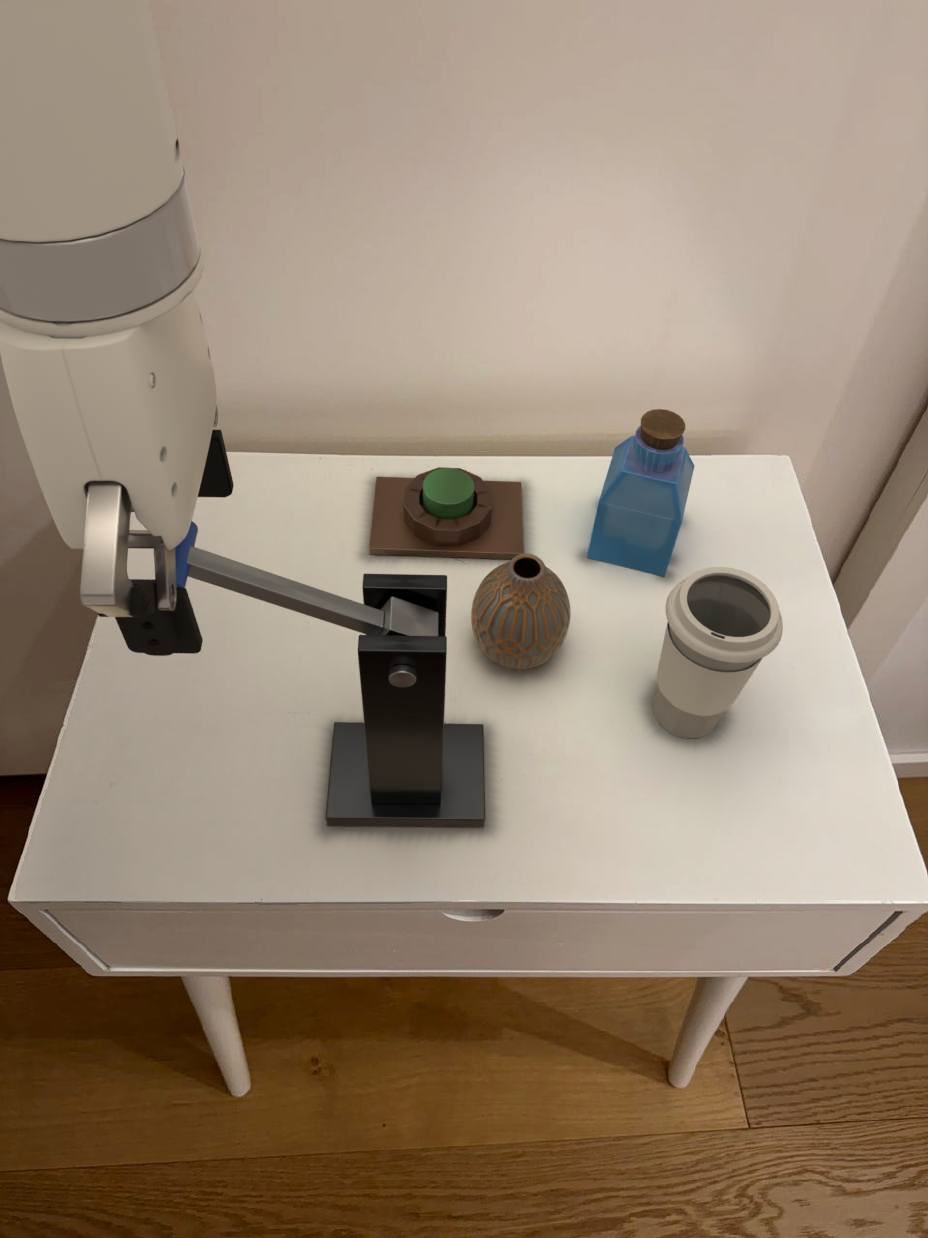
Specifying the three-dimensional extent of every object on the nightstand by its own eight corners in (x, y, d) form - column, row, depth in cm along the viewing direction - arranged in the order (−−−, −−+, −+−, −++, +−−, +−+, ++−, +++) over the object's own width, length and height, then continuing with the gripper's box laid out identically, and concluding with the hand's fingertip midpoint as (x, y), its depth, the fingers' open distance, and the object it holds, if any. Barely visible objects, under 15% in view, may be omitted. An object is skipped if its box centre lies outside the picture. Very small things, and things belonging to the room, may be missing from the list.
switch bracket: (326, 826, 60) (298, 666, 46) (335, 730, 65) (311, 557, 50) (484, 828, 61) (503, 669, 47) (482, 732, 65) (499, 561, 51)
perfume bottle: (586, 557, 75) (610, 442, 65) (602, 503, 79) (627, 387, 69) (664, 576, 74) (700, 462, 64) (677, 521, 78) (713, 405, 68)
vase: (484, 693, 67) (491, 617, 60) (458, 617, 71) (462, 537, 64) (577, 673, 68) (594, 596, 61) (546, 600, 72) (559, 520, 65)
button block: (369, 554, 74) (367, 532, 72) (376, 482, 79) (375, 459, 77) (522, 560, 75) (525, 538, 73) (520, 487, 79) (523, 465, 77)
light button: (421, 519, 74) (421, 503, 73) (423, 482, 76) (423, 466, 75) (473, 520, 74) (474, 505, 73) (473, 484, 76) (474, 468, 75)
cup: (622, 728, 66) (656, 622, 56) (650, 656, 69) (687, 546, 60) (723, 767, 64) (775, 665, 54) (746, 692, 68) (799, 584, 58)
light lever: (150, 600, 44) (165, 571, 43) (166, 536, 47) (181, 507, 45) (416, 682, 50) (438, 659, 48) (418, 622, 53) (439, 598, 51)
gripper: (37, 109, 37) (143, 441, 51) (-127, 400, 27) (61, 720, 40) (231, 114, 37) (284, 443, 51) (143, 404, 27) (240, 721, 40)
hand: (186, 565), depth 46 cm, fingers open, 9 cm apart
